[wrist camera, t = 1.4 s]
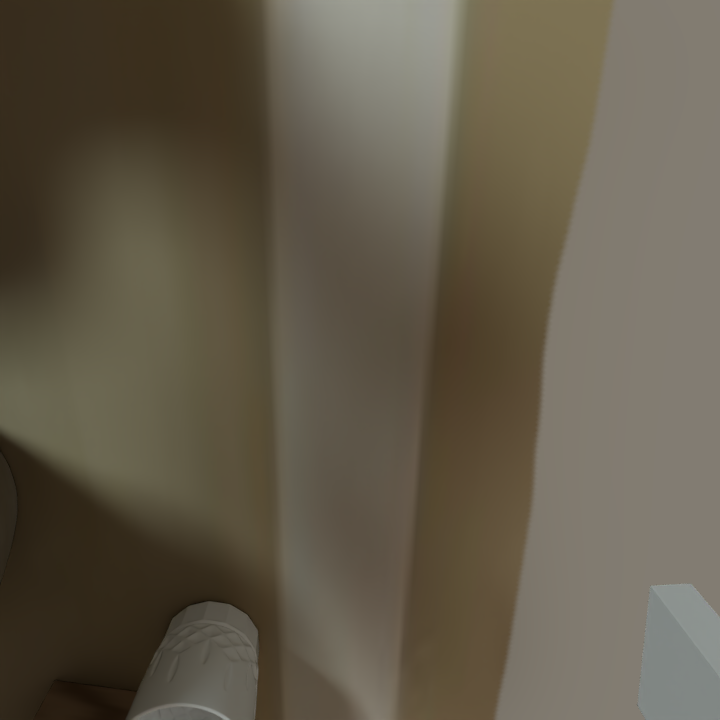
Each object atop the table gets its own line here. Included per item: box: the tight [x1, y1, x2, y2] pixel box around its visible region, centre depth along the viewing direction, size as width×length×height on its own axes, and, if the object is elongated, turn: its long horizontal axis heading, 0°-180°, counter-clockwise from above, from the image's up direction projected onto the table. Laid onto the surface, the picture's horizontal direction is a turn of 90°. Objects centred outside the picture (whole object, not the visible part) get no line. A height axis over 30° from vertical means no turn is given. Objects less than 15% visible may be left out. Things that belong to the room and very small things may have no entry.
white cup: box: [125, 601, 259, 720], centre depth 43 cm, size 8×8×10 cm
